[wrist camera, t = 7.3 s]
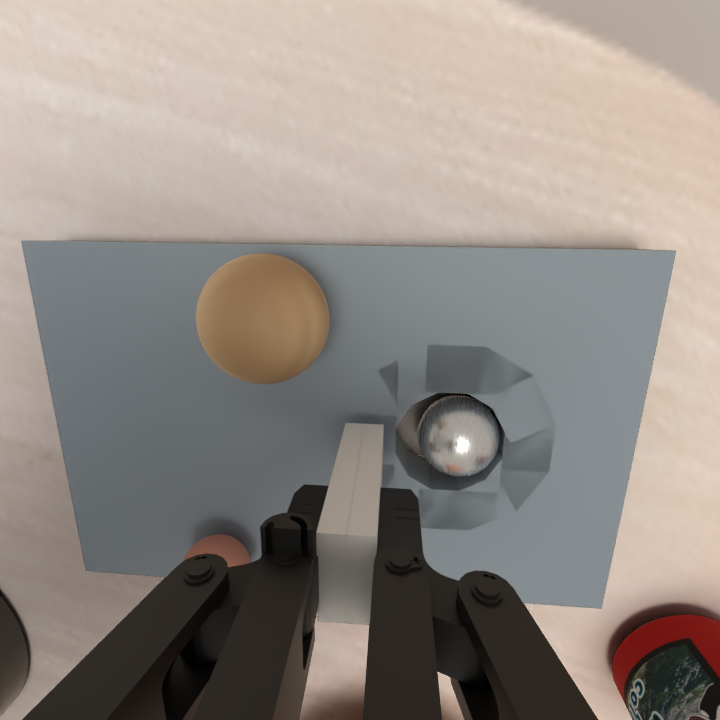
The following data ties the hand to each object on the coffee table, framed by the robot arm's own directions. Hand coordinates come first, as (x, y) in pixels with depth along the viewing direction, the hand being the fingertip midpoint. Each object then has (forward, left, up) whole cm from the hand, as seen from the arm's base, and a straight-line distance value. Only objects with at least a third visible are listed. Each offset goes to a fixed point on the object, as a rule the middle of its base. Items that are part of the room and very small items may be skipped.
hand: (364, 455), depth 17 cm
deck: (-2, 0, -4) cm, 4 cm away
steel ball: (+4, 0, -2) cm, 5 cm away
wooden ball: (-4, +6, +1) cm, 7 cm away
